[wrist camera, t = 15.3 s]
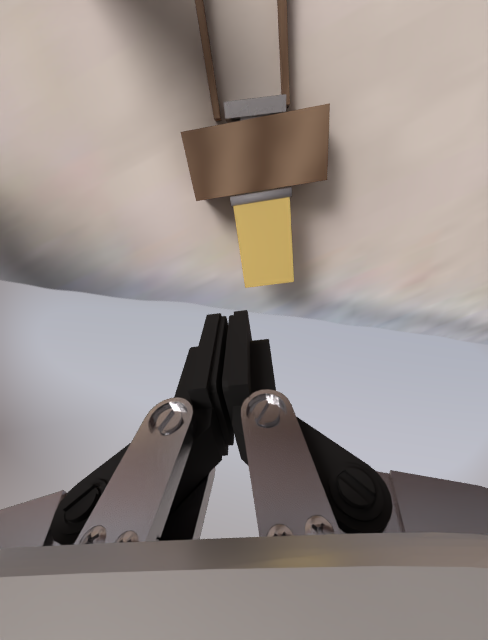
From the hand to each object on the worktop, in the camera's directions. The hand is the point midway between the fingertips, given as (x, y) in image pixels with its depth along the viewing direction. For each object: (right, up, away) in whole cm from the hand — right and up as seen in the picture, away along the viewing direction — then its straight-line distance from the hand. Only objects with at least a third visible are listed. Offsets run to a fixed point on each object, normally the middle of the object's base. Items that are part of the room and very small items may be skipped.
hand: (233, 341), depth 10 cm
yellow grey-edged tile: (+3, +10, +17) cm, 20 cm away
